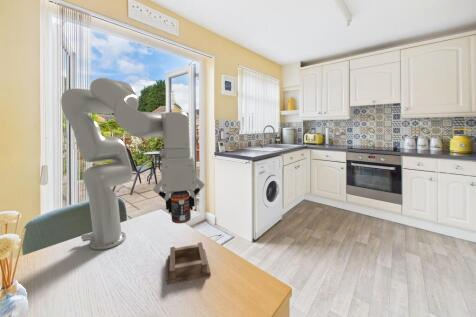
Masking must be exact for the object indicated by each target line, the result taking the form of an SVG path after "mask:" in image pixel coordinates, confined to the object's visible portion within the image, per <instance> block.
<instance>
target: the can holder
mask: <svg viewBox="0 0 476 317" xmlns="http://www.w3.org/2000/svg"><path fill="white" fill-rule="evenodd" d="M169 250H170V251H169V253H170V254H168V255H167V266H166V285H170V284H175V283H180V282H186V281H189V280H194V279H199V278H204V277H210V276H211V275H212V274H211V269H210V268H211V267H210V264H209V260H208V256H207V254H206V252H207V251H206V249H204V245H203V242H201V241H200V242H197V244H192V245H191V244H190V245H186V246H181V247H179V246H178V247H176V246H170V248H169Z"/></svg>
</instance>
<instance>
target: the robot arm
mask: <svg viewBox="0 0 476 317" xmlns="http://www.w3.org/2000/svg"><path fill="white" fill-rule="evenodd" d="M60 98H61V99H60V100H61V101H60V103H61V109H62V110H61V111H62V112H63V115H64V117H65V118H66V120H67V121H68V124H69V125H70V126H71V129H72V131H73V134H74V137H75V140H76V141H75V142H76V144H77V147H78V150H79V152H80V156H81V159H82V160H83V161H84V162H86V163H97V162H100V163H101V162H107V161H110V163H109V162H107V163H102V164H96V165H93V166H92V165H91V166H90V167H88V168H87V169H85V170H84V172H83V174H82V181H83V183H84V184H83V185H84V187H85V189H86V193H87V197H88V203H89V211H90V219H91V228H92V232H90V233H84V234H83V233H82V234H81V236H80V238H81V240H82V242H88V241H89V248H90V249H91V250H95V251H96V250H97V251H101V250H108V249H111V248H113V247H117V246H118V245H120V244H122V243H123V242H124V241H125V240H126V238H127V235H126V233H125V232H123V231H122V225H121V218H120V215H121V214H120V206H119V198H118V195H117V194H116V192H114V191H113V190H112V188H114V187H117V186H121V185H123V184H127V183H129V182H130V181H131V180H133V176H134V172H133V167H132V164H131V160H130V157H129V154H128V150H127V148H126V145H125V143H124V142H123V141H122V139H120V138H119V137H116V136H104V135H103V134H102V131H101V128H100V125H99V123H98V122H97V121H96V120H95V119H94V118H93V117H92V116H90V115H89V114H103V115H110V114H111V115H112V114H113V115H114V116H113V117H114V120H115V122H116V123H117V125H118V127H119V128H121V129H123V131H125V132H127V133H128V134H129V135H131V136H132V137H136V138H138V139H139V138H140V139H143V138H144V139H146V138H147V139H148V138H162V137H163V138H162V139H163V149H161V150H159V151H158V152H159V156H163V157H164V158H162V159H161V168H160V169H161V172H160V175H161V179H160V180H159V181H158V182H157V183H156V185H155V186H153V189H152V191H153V192H154V193H155V194H158V195H159V197H161V198H162V199H163V200H164V202H165V208H166V210H167V211H168V214H171V200H170V195H171V193H172V192H180V191H188V192H189V194H190V211H194V209H193V208H194V207H195V204H196V203H195V202H196V200H195V198H196V196H197V195H198V194H199V192H200V191H201V190H202V189H203V188H204V187H205V183H204V182H202V181H201V179H199V178H198V177H197V175H196V166H195V161H194V157H192V156H191V146H190V123H189V121H190V120H189V116H188V114H187V113H185V112H181V111H167V112H165V113H161V112H150V111H140V110H138V108H139V102H140V101H139V99H138V97H137V93H136V90H135V88H134V86H132V85H131V84H130V83H128V82H126V81H121V80H116V79H112V78H107V77H100V78H99V77H98V78H95V79H93V80H92V81H91V83H90V85H89V89H86V88H69V89H67V90H65V91H64V92H63V93H62V94H61V97H60ZM197 185H198V186H197ZM160 188H161V189H160Z"/></svg>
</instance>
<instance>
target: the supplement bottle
mask: <svg viewBox="0 0 476 317" xmlns="http://www.w3.org/2000/svg"><path fill="white" fill-rule="evenodd" d="M170 200H171V213H170V216H171V217H170V218H171V222H173V223H174V224H185V223H187V222H189V221H190V220H191V217H192V214H191V209H190V192H189V191H180V192H171V193H170Z"/></svg>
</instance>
